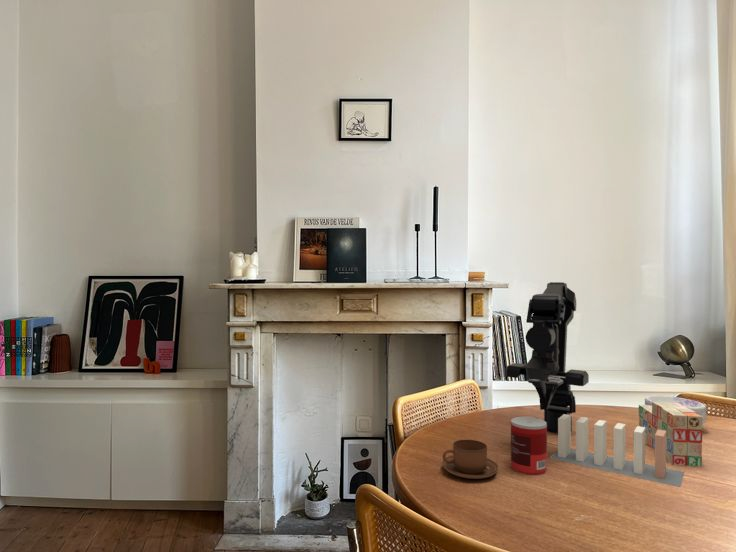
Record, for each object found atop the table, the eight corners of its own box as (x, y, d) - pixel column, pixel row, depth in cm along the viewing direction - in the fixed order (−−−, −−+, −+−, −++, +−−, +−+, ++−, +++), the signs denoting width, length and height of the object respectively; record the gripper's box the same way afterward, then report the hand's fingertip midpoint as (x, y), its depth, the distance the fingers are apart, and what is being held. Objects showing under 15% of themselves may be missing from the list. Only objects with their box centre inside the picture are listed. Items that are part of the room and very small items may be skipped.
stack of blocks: (638, 438, 132) (638, 393, 132) (663, 440, 131) (663, 394, 131) (672, 468, 111) (672, 414, 111) (703, 470, 110) (703, 415, 110)
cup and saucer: (465, 488, 99) (465, 458, 99) (431, 468, 110) (431, 440, 110) (509, 477, 105) (509, 449, 105) (473, 459, 115) (473, 433, 115)
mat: (549, 460, 114) (549, 458, 114) (561, 449, 122) (561, 446, 122) (680, 489, 99) (680, 487, 99) (684, 474, 107) (684, 471, 107)
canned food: (546, 466, 111) (546, 418, 111) (547, 479, 103) (547, 428, 103) (511, 462, 113) (511, 415, 113) (509, 474, 106) (510, 424, 106)
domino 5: (633, 472, 106) (633, 431, 106) (637, 465, 110) (637, 426, 110) (642, 474, 105) (642, 432, 105) (645, 467, 109) (645, 427, 109)
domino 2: (575, 460, 113) (575, 421, 113) (581, 454, 117) (581, 416, 117) (583, 461, 112) (583, 422, 112) (588, 455, 116) (588, 418, 116)
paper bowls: (709, 427, 142) (709, 400, 142) (701, 439, 131) (701, 410, 131) (650, 417, 152) (650, 392, 152) (638, 428, 141) (638, 400, 141)
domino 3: (594, 464, 111) (594, 424, 111) (599, 457, 115) (599, 419, 115) (601, 465, 110) (602, 426, 110) (606, 459, 114) (606, 421, 114)
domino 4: (613, 468, 108) (613, 427, 108) (617, 461, 112) (617, 422, 112) (621, 470, 107) (621, 429, 107) (625, 463, 111) (625, 424, 111)
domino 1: (558, 456, 116) (558, 418, 116) (563, 450, 120) (563, 414, 120) (565, 457, 115) (565, 419, 115) (570, 452, 119) (570, 415, 119)
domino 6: (654, 477, 104) (654, 434, 104) (657, 470, 108) (657, 429, 108) (663, 479, 103) (663, 436, 103) (666, 471, 107) (666, 430, 107)
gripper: (497, 345, 119) (496, 409, 119) (577, 353, 108) (577, 423, 108) (513, 341, 128) (513, 400, 128) (589, 347, 117) (589, 412, 117)
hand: (545, 408), depth 120 cm, fingers closed
